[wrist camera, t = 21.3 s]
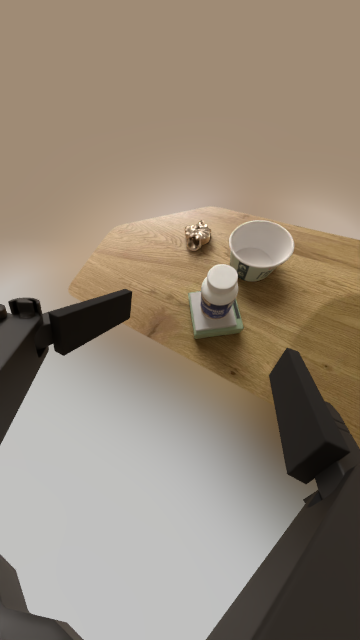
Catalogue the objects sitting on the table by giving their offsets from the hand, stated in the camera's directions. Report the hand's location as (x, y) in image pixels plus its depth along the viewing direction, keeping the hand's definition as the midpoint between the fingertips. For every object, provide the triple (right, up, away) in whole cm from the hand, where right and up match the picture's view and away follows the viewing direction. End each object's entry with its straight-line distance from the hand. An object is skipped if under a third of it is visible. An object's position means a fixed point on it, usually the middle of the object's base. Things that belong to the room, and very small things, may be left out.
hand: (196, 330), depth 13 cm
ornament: (+3, +21, +28) cm, 36 cm away
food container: (+15, +14, +24) cm, 32 cm away
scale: (+6, +2, +21) cm, 21 cm away
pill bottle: (+5, +3, +17) cm, 18 cm away
